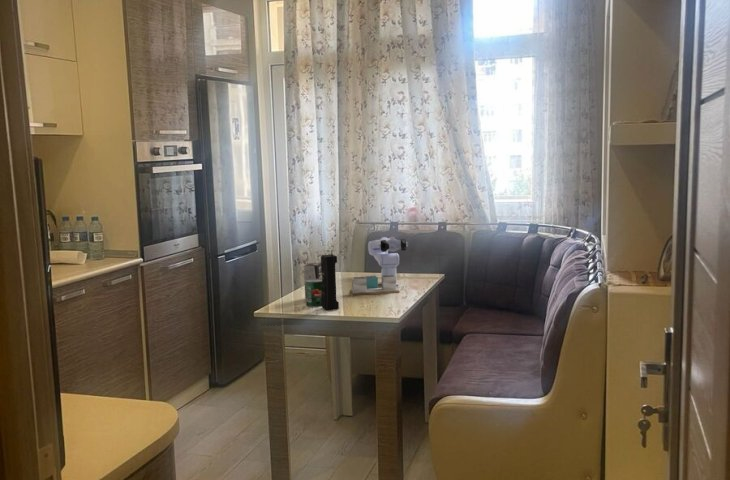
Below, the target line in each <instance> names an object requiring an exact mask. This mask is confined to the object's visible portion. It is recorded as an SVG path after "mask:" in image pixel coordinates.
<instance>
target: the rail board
mask: <svg viewBox="0 0 730 480" xmlns="http://www.w3.org/2000/svg"><path fill="white" fill-rule="evenodd" d="M396 276H397V275H396ZM396 276H394V275H383V276H380V278H381V280H382V285H381V287H378V288H373V289H367V280H366V278H365V276H354V277H352V278H351V280H352V281H351V283H352V284H351V286H352V289H351V290H349V293H350V294H351V295H352V296H353V297H355V296H365V295H366V296H370V295H381V294H395V293H397V294H398V293H400V289H398V288H397V285H396ZM381 280H380V281H381Z"/></svg>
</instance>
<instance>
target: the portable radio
mask: <svg viewBox="0 0 730 480" xmlns="http://www.w3.org/2000/svg"><path fill="white" fill-rule="evenodd" d="M320 263H321V274H322V283H321V306H320V307H321V308H322V309H323V310H325V311H327V312H328V311H336V310H339V309H340V304H339V301H338V299H337V280H336V279H337V277H336V275H337V274H336V264H337V263H338V256H337V255H335V254H333V249H332V250H331V254H321V256H320Z"/></svg>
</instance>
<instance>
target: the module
mask: <svg viewBox="0 0 730 480" xmlns="http://www.w3.org/2000/svg"><path fill="white" fill-rule="evenodd" d="M364 277H365V278H366V280H367V289H373V288H379V277H378V276H376V275H365V276H364Z"/></svg>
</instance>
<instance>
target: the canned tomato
mask: <svg viewBox="0 0 730 480" xmlns="http://www.w3.org/2000/svg"><path fill="white" fill-rule="evenodd" d="M321 283H322V279H308V280H304V286H305V285H306V301H305V302H306V304H305V305H306V307H309V308H318V307H321Z"/></svg>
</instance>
